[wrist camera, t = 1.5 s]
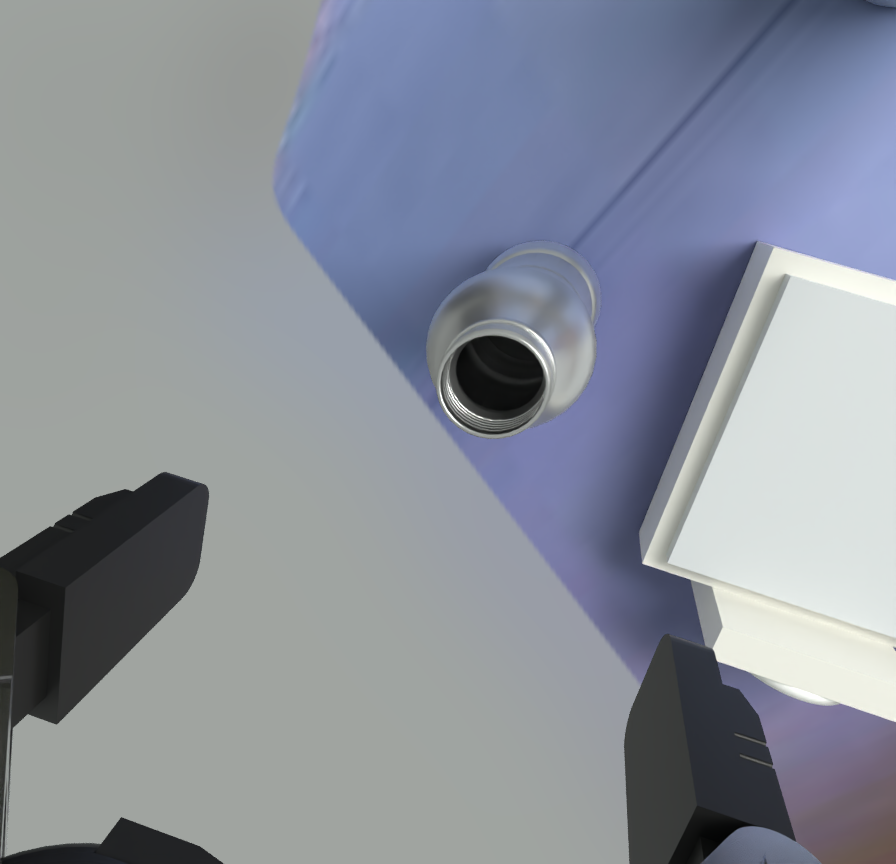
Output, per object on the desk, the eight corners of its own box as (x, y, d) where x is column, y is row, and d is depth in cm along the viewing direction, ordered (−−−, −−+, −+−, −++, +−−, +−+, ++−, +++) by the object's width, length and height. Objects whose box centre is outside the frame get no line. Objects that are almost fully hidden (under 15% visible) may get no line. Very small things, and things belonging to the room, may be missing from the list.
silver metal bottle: (615, 331, 42) (628, 449, 23) (503, 366, 44) (430, 502, 25) (581, 219, 40) (565, 250, 22) (466, 261, 42) (360, 323, 24)
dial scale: (757, 240, 39) (794, 254, 31) (1110, 341, 37) (1237, 381, 30) (622, 571, 46) (626, 646, 39) (912, 668, 45) (974, 765, 37)
